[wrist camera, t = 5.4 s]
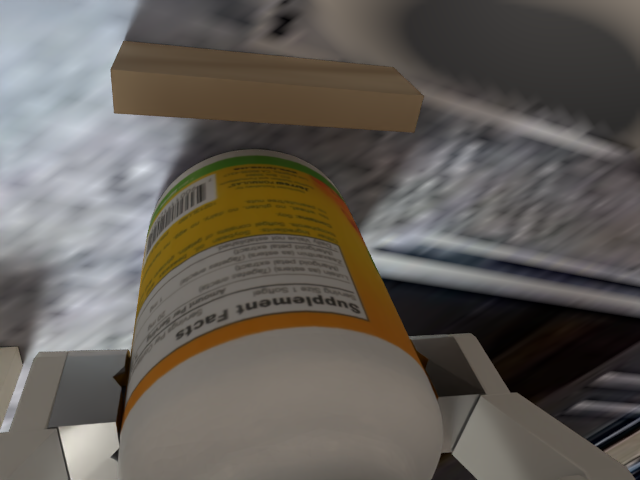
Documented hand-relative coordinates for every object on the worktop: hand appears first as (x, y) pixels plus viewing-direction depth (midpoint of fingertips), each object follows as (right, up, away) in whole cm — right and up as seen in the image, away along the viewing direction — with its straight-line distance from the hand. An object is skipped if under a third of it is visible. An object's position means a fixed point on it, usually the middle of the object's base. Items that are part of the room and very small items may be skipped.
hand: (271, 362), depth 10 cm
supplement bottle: (-1, +3, +4) cm, 5 cm away
